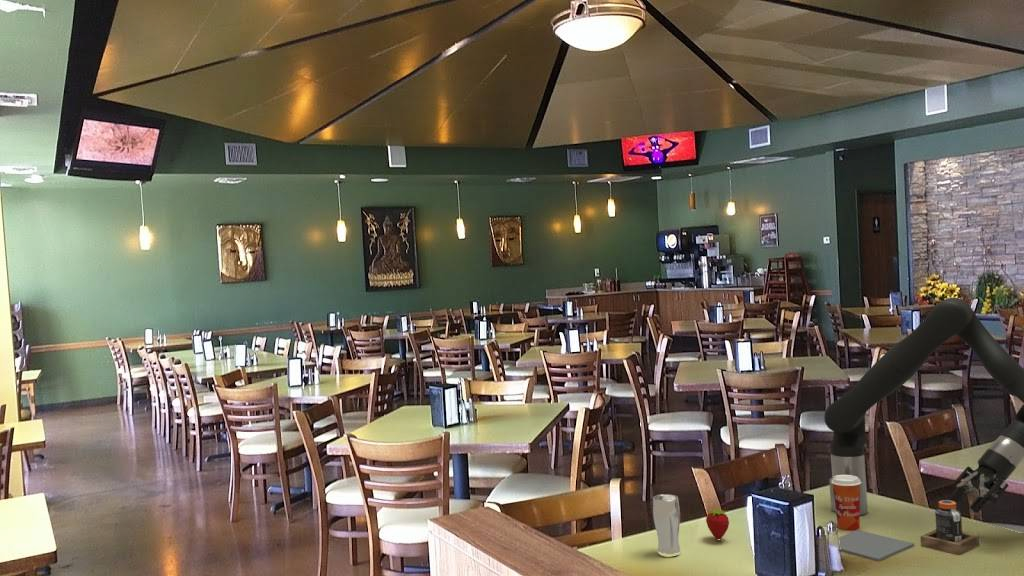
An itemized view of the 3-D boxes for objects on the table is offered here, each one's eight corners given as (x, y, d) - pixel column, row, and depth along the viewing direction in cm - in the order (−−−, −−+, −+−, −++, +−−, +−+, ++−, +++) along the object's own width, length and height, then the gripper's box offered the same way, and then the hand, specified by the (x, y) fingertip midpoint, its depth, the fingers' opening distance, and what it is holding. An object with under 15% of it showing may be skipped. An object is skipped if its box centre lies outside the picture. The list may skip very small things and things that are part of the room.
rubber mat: (822, 546, 215) (822, 543, 215) (857, 532, 224) (857, 529, 224) (878, 561, 201) (878, 558, 201) (914, 545, 210) (914, 543, 210)
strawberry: (723, 535, 229) (721, 499, 228) (734, 543, 221) (732, 506, 221) (703, 537, 228) (701, 501, 228) (713, 546, 220) (711, 509, 220)
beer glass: (684, 550, 219) (680, 494, 219) (680, 559, 212) (677, 501, 212) (658, 548, 221) (654, 493, 221) (653, 557, 214) (650, 500, 214)
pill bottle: (968, 548, 206) (965, 504, 206) (944, 550, 206) (941, 505, 206) (955, 541, 212) (953, 497, 211) (932, 542, 212) (929, 499, 212)
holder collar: (920, 545, 210) (920, 536, 210) (941, 536, 215) (940, 527, 215) (959, 554, 202) (958, 544, 202) (979, 545, 207) (978, 535, 207)
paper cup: (833, 530, 226) (830, 480, 226) (834, 522, 233) (831, 473, 233) (864, 532, 223) (861, 481, 223) (864, 523, 230) (860, 474, 230)
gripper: (974, 442, 217) (935, 489, 216) (1010, 454, 202) (969, 504, 202) (994, 461, 217) (955, 507, 216) (1032, 473, 203) (991, 523, 202)
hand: (962, 506), depth 209 cm, fingers open, 8 cm apart
